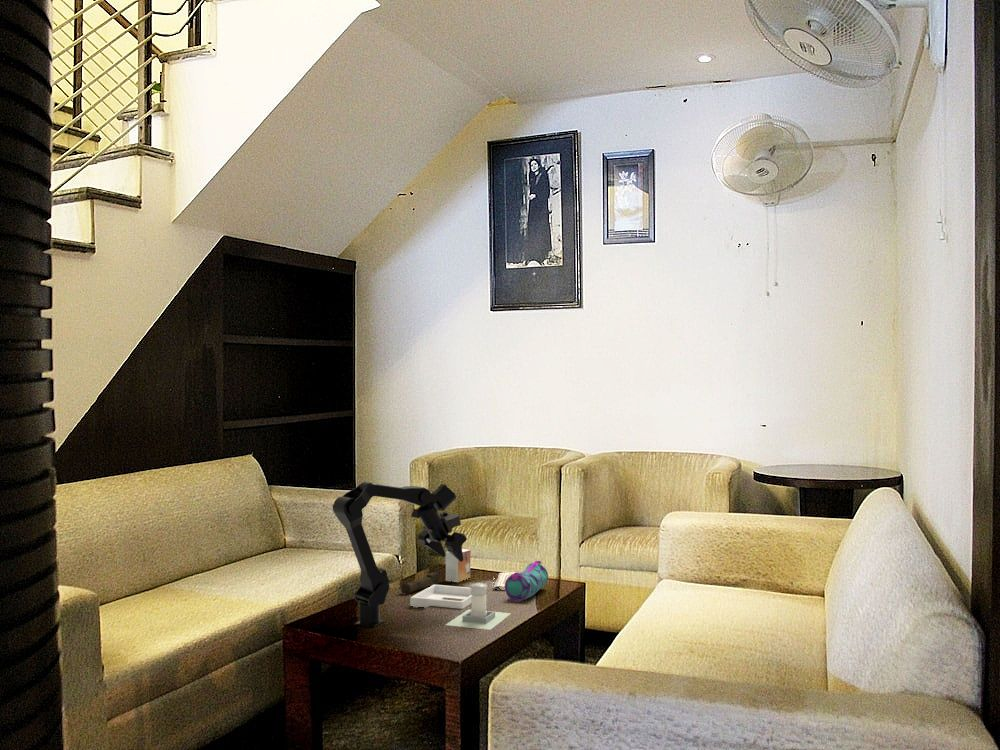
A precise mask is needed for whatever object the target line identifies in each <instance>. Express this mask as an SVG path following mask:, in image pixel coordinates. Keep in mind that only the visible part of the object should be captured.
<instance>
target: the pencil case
mask: <svg viewBox="0 0 1000 750" xmlns="http://www.w3.org/2000/svg"><path fill="white" fill-rule="evenodd" d="M513 573H514V574H512V575H510V576H509V577H508V578H507V580H506V582H505V590H504V591H505V593H506V595H507V597H508V598H509V599H510V600H511V601H512V602H517V603H518V602H523V601H525V600H527V599H529V598H531V597H532V596H534V595H536V593H537V592H538V591H540V590H541V589H542V588H543V587H544V586H546V584H547V582H548V580H549V574H548V570H547V568H546V567H545V566H543V564H542V560H535V561H534V562H532V563H530V564H527V566H526V567H525V569H524V570H522V571H520V572H519V571H517V572H513Z"/></svg>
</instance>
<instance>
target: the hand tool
mask: <svg viewBox="0 0 1000 750" xmlns="http://www.w3.org/2000/svg"><path fill="white" fill-rule="evenodd" d="M440 581H441V579H440V573H439V572H438V571H434V572H430V573H429V572H428V574H426V576H425V577H422V578H419V579H416V580H413V581H410V582H404V583H402V584H401V585H400V591H401V594H402V593H405V594H404V595H410V594H413V592H416V591H418V590H422V589H426V588H428V586H432V585H439V584H440ZM438 583H439V584H438Z"/></svg>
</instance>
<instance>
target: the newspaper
mask: <svg viewBox="0 0 1000 750" xmlns="http://www.w3.org/2000/svg"><path fill="white" fill-rule="evenodd" d="M514 573H515V572H499V573H498V574H497V575H498V578H497V580H496V582H495V585H494V587H493V586H492V590H493V591H501V590H500V588H499V587H500V586H501V587H505V582H506V580H507V578H508V577H509V576H510V575H512V574H514ZM494 579H495V578H494V577H493V580H494ZM493 583H494V582H493V581H492V584H493ZM495 589H497V590H495Z"/></svg>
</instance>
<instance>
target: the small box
mask: <svg viewBox="0 0 1000 750" xmlns="http://www.w3.org/2000/svg"><path fill="white" fill-rule="evenodd" d="M462 553H463V561H462V562H460V561H459V560H458V559H457V558H455V557H454V556H453V555H452V554H451V553H450V552H448V551H445V554H446V556H445V581H446V582H451V581H452V583H460V582H463V580H464V581H466V579H467V580H469V579H468V578H470V579H471V549H464V548H462Z"/></svg>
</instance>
